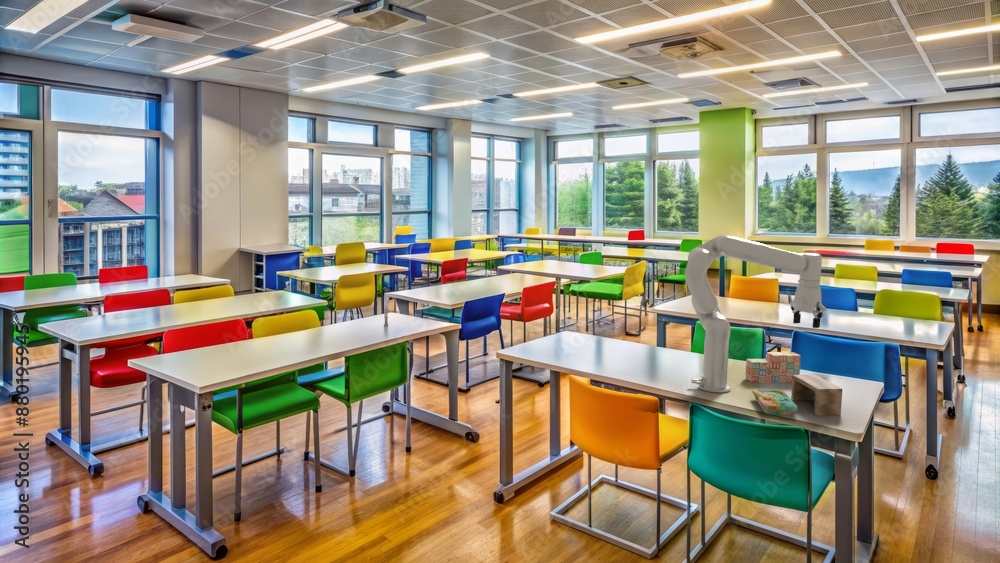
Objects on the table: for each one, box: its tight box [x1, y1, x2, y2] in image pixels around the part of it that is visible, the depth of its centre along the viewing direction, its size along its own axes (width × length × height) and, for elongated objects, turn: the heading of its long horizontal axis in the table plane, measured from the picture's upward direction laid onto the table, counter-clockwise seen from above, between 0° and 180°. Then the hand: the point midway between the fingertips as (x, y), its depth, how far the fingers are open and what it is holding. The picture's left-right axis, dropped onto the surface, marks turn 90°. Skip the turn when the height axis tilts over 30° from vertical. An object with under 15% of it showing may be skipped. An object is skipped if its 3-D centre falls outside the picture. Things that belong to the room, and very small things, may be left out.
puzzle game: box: [752, 389, 799, 417], centre depth 231 cm, size 12×5×20 cm
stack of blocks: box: [745, 351, 802, 383], centre depth 266 cm, size 21×6×12 cm, turn 92°
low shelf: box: [790, 374, 843, 416], centre depth 230 cm, size 9×19×10 cm, turn 0°
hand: (806, 325), depth 246 cm, fingers open, 9 cm apart
